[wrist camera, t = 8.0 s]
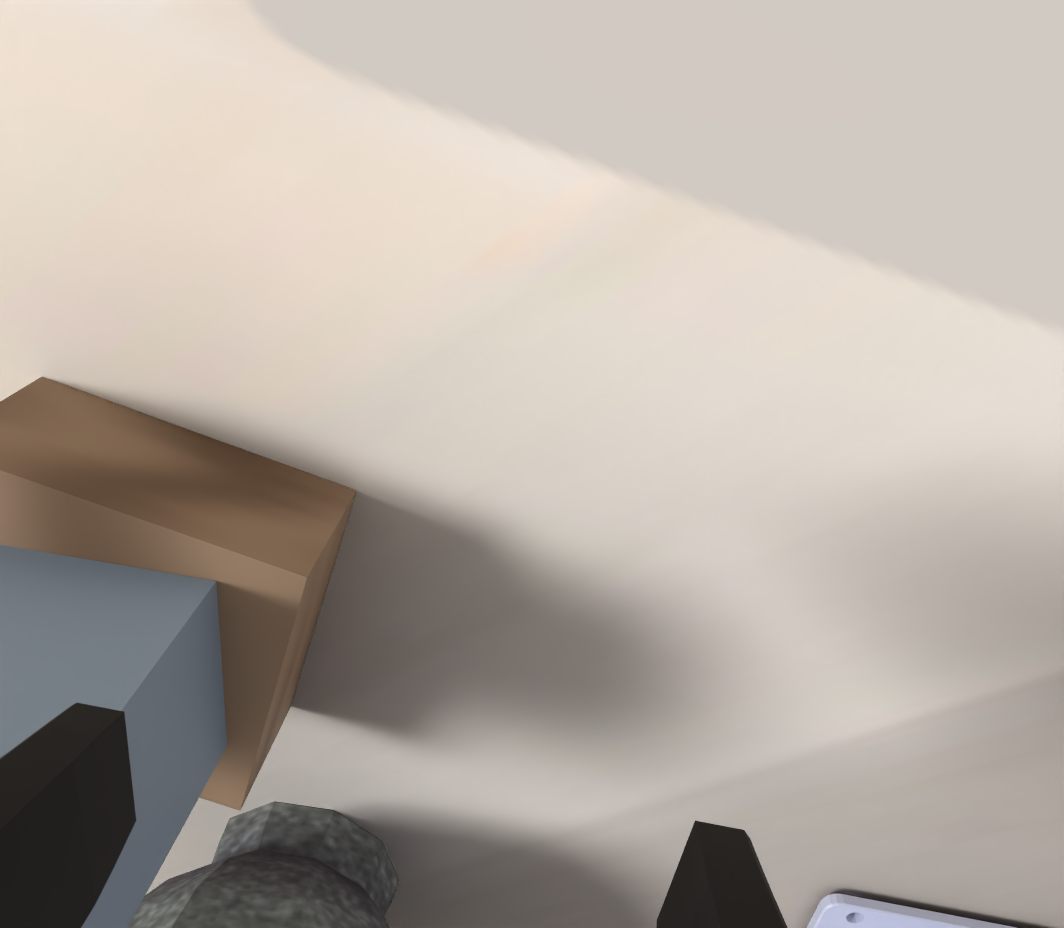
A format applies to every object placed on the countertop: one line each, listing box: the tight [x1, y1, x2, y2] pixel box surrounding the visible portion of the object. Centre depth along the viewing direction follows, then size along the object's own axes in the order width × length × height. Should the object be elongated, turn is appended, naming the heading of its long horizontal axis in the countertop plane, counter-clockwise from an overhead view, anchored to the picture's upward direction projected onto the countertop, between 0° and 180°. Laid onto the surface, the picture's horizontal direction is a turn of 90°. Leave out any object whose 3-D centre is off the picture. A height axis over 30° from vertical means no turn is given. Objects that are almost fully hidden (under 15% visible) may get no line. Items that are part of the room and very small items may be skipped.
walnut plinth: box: [0, 377, 356, 810], centre depth 21 cm, size 8×8×4 cm
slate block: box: [0, 545, 227, 928], centre depth 16 cm, size 5×5×6 cm
